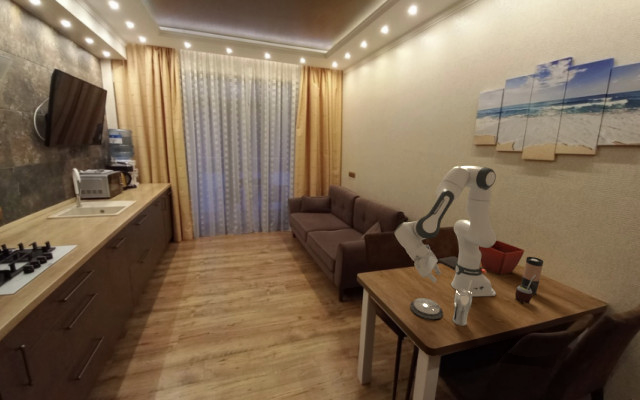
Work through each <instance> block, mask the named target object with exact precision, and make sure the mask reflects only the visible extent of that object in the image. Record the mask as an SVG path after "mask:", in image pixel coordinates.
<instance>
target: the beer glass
mask: <svg viewBox="0 0 640 400" xmlns="http://www.w3.org/2000/svg"><path fill="white" fill-rule="evenodd" d="M472 301H473V296H472V293H471V292H470V291H468V290H465V289H457V290H456V289H455V293H454V299H453V308H454V309H453V311H454V312H453V316H452V320H451V321H452V322H453V323H454V324H456V325H458V326H460V327H461V326H462V327H464V326H467V324H468V322H467V318H468V314H469V311H470V310H471V307H472V304H473V303H472Z"/></svg>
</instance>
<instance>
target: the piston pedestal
mask: <svg viewBox="0 0 640 400" xmlns="http://www.w3.org/2000/svg"><path fill="white" fill-rule="evenodd" d="M409 307H410V311H411V312H412V313H413V314H414V315H416V316H418V317H419V318H421V319H424V320H429V321H437V320H440V319H442V318H443V316H444V315H443V314H444V311H443V310H442V308H441V306H440V304H438V303H437V302H436V301H434V300H432V299H429V298H425V297H419V298H416V299H414V300H413V301H411V303H410V306H409Z"/></svg>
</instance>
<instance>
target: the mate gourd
mask: <svg viewBox="0 0 640 400" xmlns="http://www.w3.org/2000/svg"><path fill="white" fill-rule="evenodd" d="M535 276H536V275H535ZM535 276H534V277H535ZM534 277H533V278H534ZM533 278H532V279H531V281H530V283H529V285H528V287H527V286H522V285H518V286H517V287H516V289H515V299H514V300H515V301H519V302H520V303H521V304H522V305H523V304H524V303H525V304H530V303H531V302H530V301H531V299H532V298H533V295H532V290H531V289H530V288H529V286H530V284H531V282H532V280H533Z"/></svg>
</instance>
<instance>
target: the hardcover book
mask: <svg viewBox="0 0 640 400" xmlns="http://www.w3.org/2000/svg"><path fill="white" fill-rule="evenodd" d="M437 260H438V262H439V263H441V264H442V265H444V266H446V267H449V268H450V269H452V270H454V271H456V265H457V262H458V257H456V256H455V255H454V256H448V257H447V256H446V257H443V258H437ZM438 262H437V263H438Z"/></svg>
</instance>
